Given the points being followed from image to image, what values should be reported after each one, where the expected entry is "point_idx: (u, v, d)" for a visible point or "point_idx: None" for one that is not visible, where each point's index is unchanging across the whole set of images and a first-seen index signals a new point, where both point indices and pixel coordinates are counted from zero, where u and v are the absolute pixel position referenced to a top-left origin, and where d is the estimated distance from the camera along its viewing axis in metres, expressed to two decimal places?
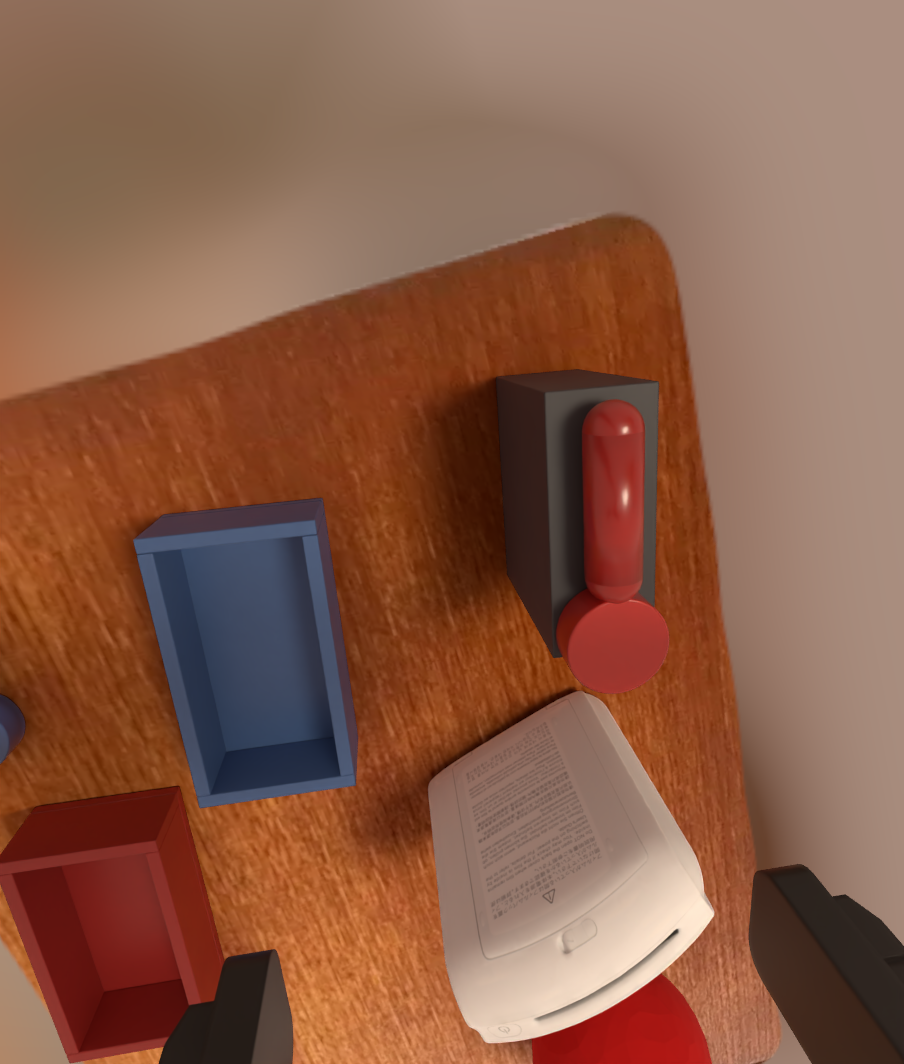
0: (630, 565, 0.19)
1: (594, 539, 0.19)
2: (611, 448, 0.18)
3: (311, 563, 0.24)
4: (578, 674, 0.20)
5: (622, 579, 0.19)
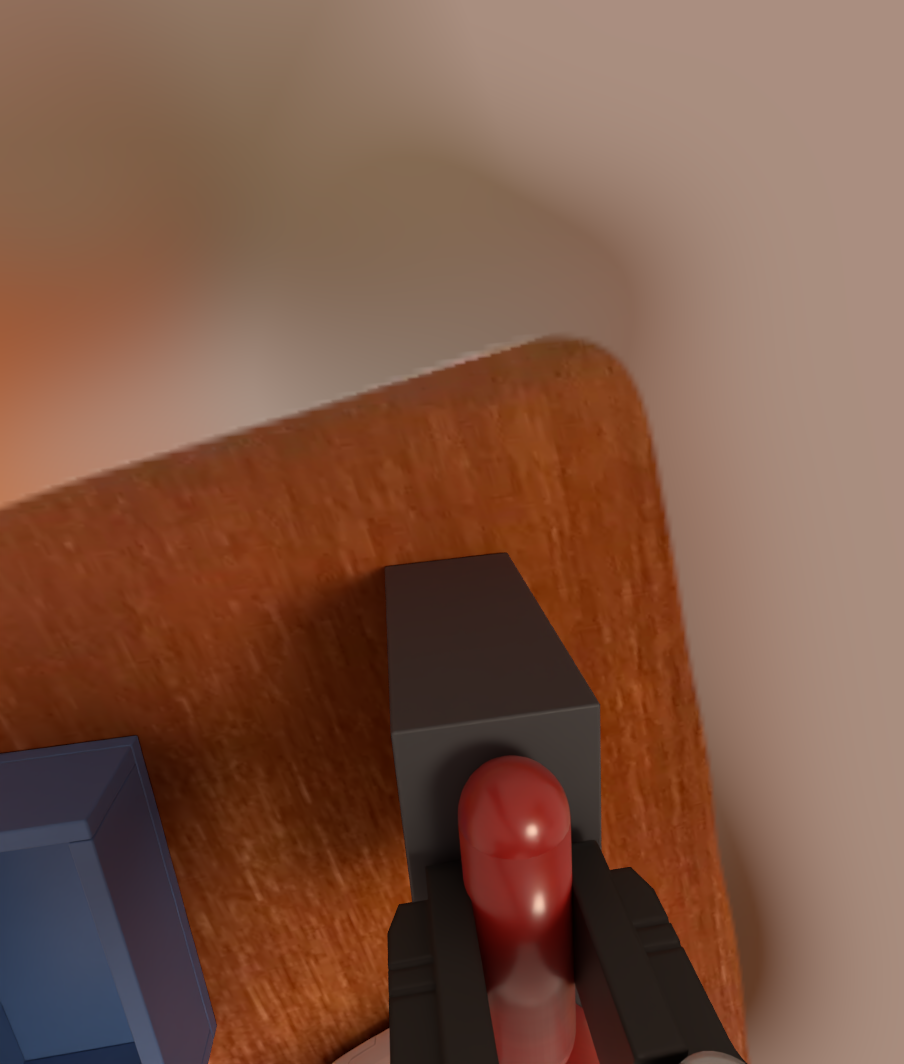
0: (548, 1042, 0.10)
1: None
2: (503, 877, 0.09)
3: (87, 877, 0.16)
4: None
5: None
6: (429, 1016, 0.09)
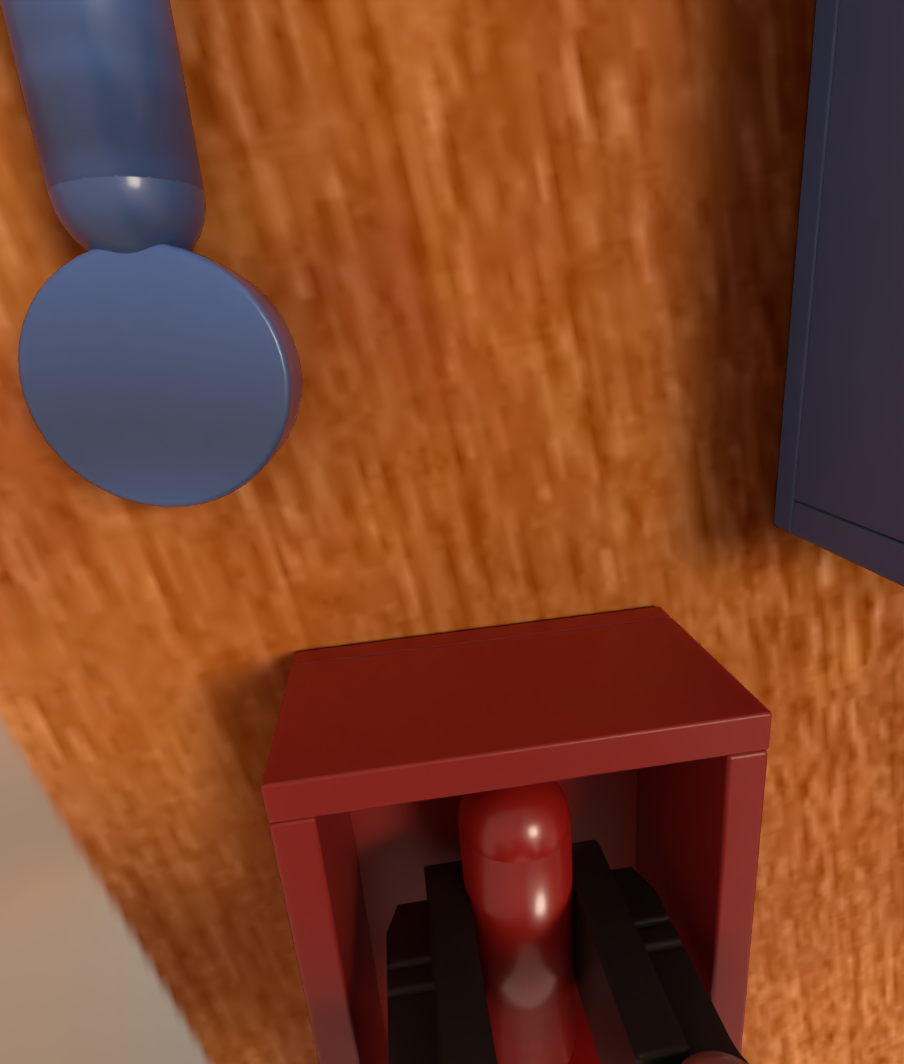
0: (548, 1045, 0.10)
1: None
2: (503, 880, 0.09)
3: None
4: None
5: None
6: (427, 1016, 0.09)
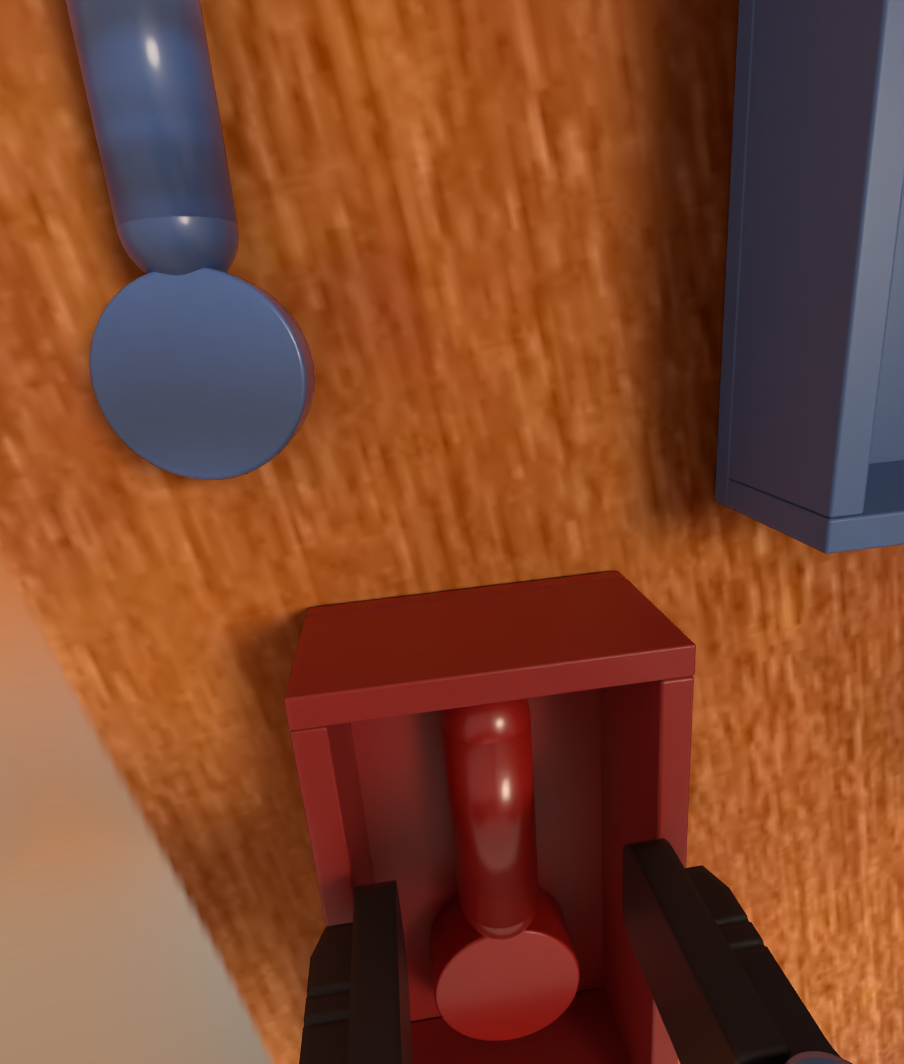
0: (514, 901, 0.13)
1: (463, 863, 0.13)
2: (476, 758, 0.12)
3: None
4: (452, 1023, 0.14)
5: (503, 920, 0.13)
6: (342, 1047, 0.08)
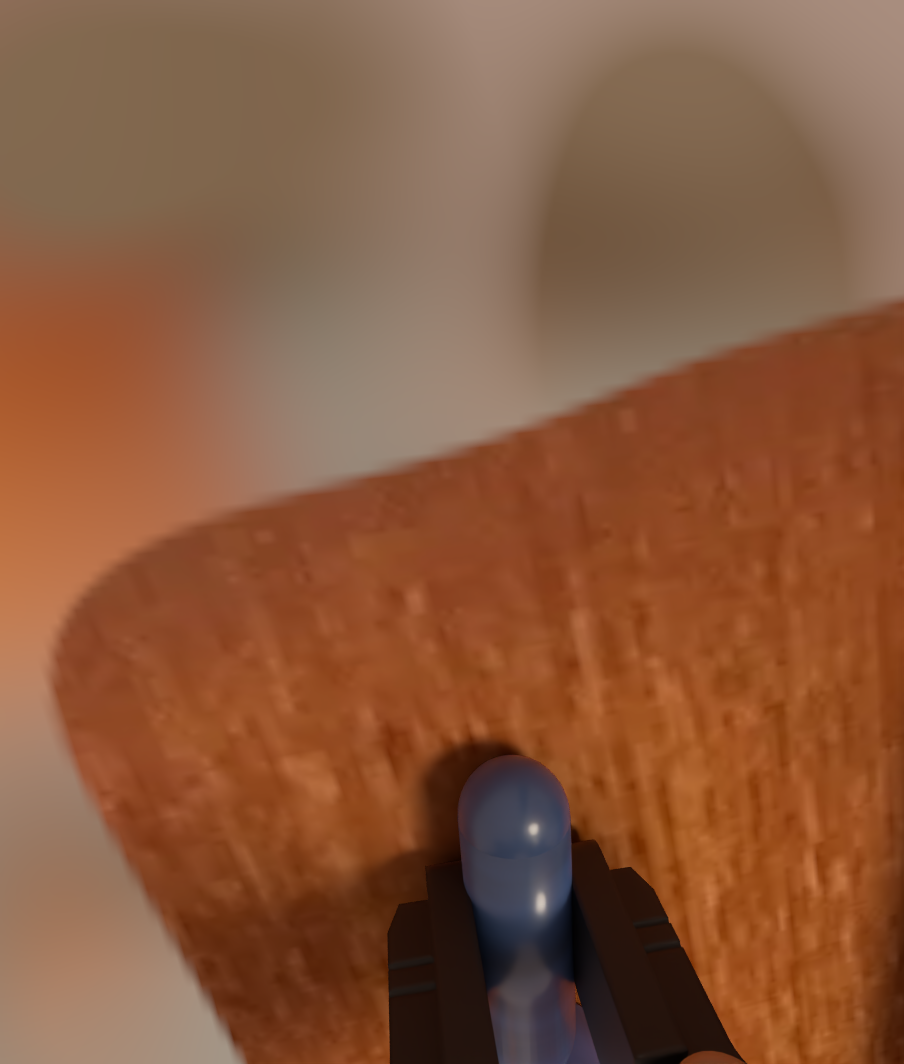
0: None
1: None
2: None
3: None
4: None
5: None
6: (429, 1016, 0.09)
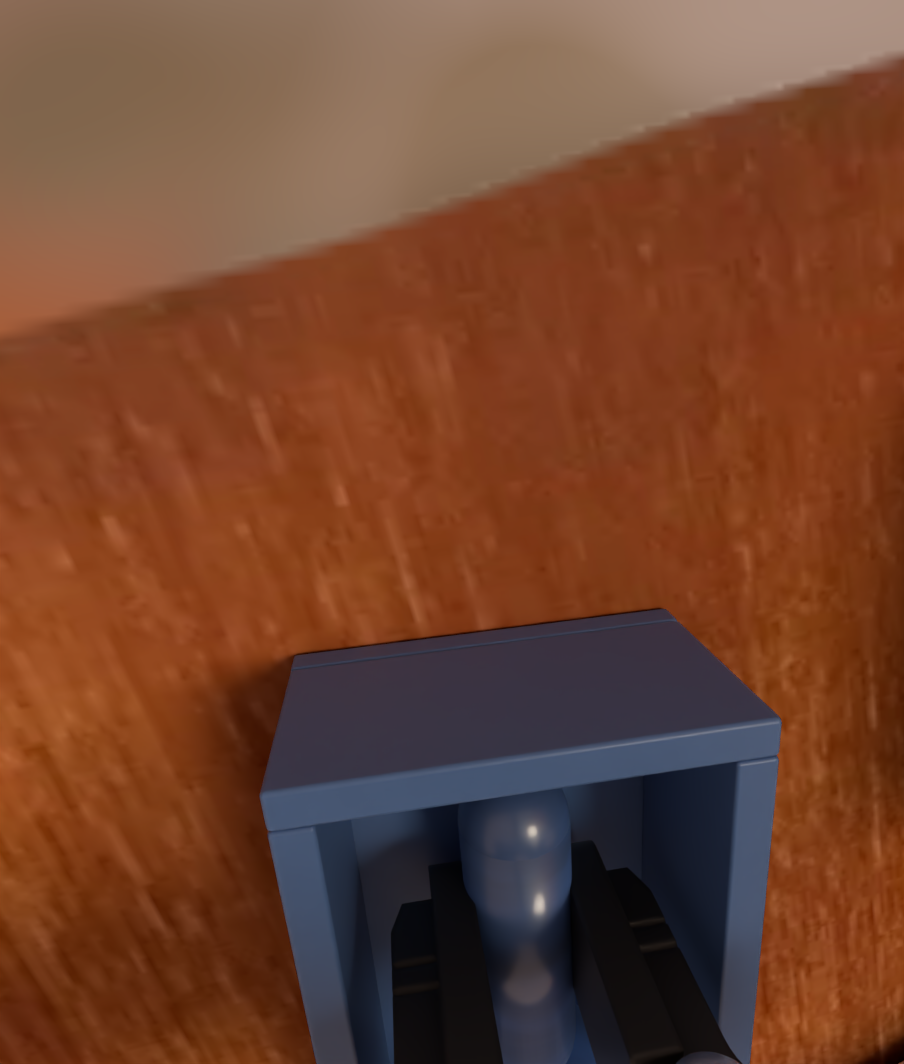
0: None
1: None
2: None
3: (747, 829, 0.09)
4: None
5: None
6: (432, 1015, 0.09)
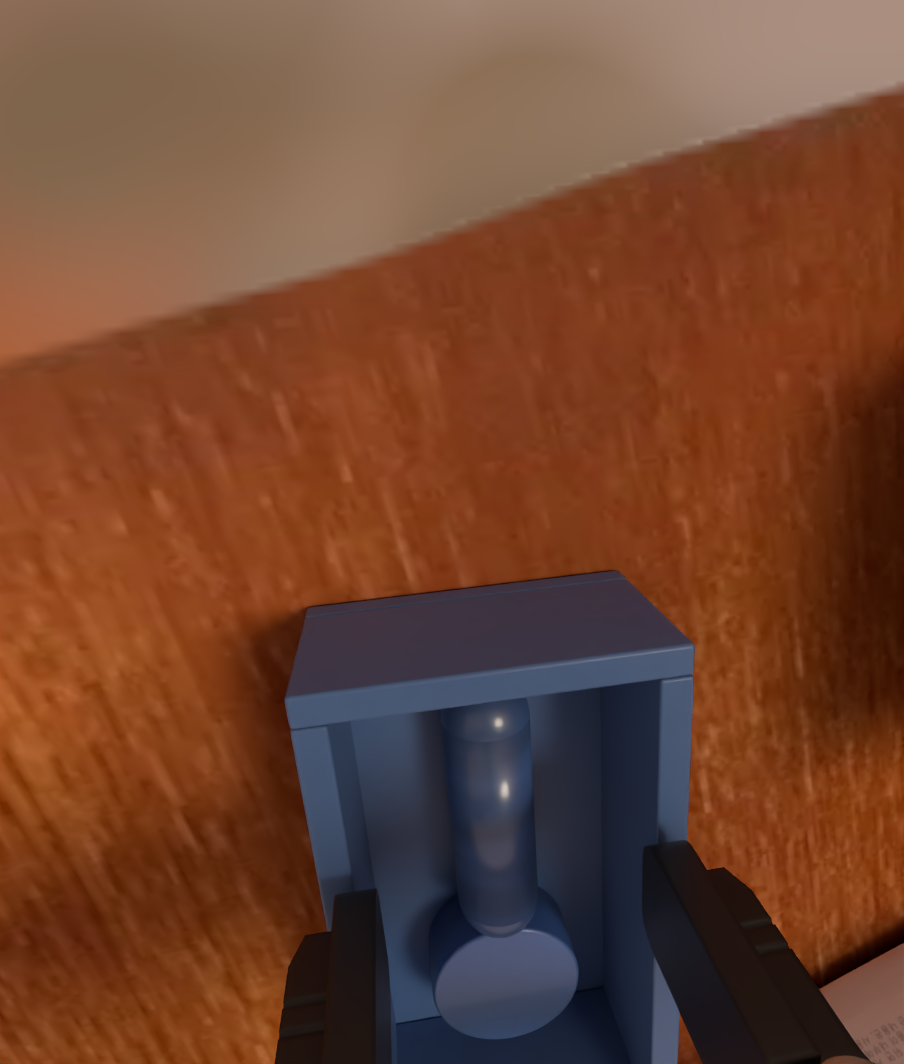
0: None
1: None
2: None
3: (671, 736, 0.11)
4: None
5: None
6: (316, 1059, 0.08)
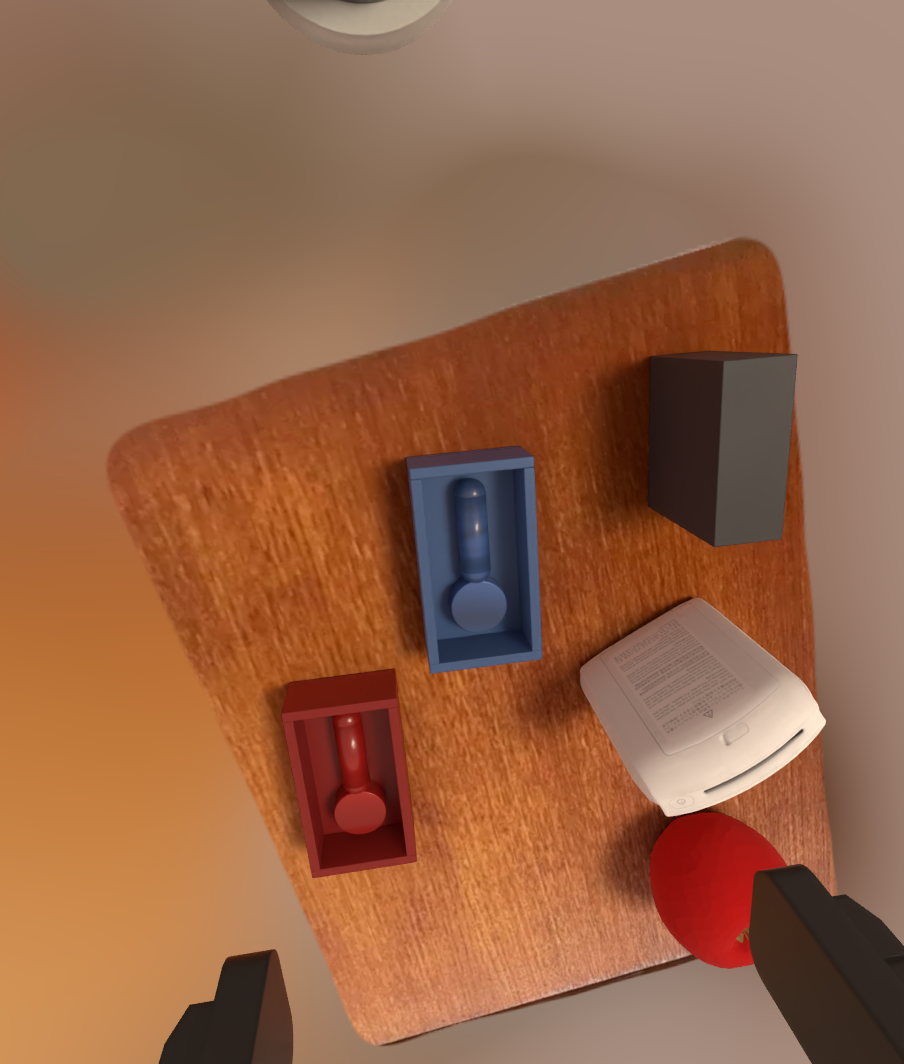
0: (357, 779, 0.39)
1: (340, 767, 0.39)
2: (341, 731, 0.38)
3: (528, 488, 0.34)
4: (341, 826, 0.41)
5: (354, 785, 0.39)
6: None
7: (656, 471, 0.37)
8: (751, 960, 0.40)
